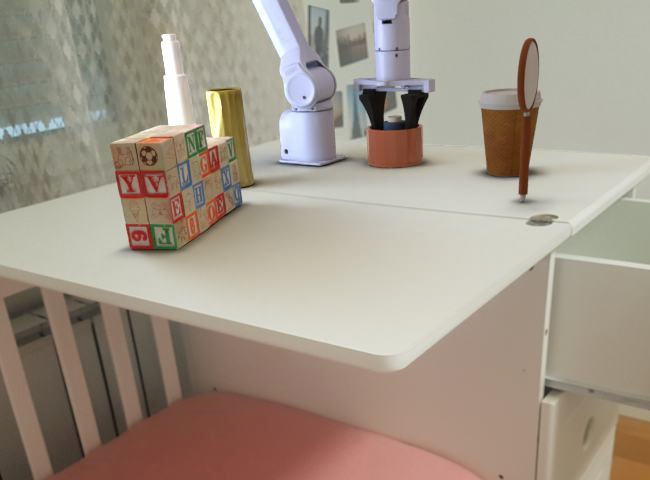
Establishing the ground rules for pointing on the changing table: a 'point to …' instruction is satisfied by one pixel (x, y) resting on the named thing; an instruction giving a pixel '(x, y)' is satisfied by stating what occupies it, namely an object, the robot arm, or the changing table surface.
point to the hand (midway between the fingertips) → (394, 136)
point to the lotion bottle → (394, 123)
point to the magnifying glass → (526, 105)
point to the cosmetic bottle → (176, 84)
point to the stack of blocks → (174, 183)
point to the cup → (394, 147)
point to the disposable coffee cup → (504, 129)
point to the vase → (231, 126)
